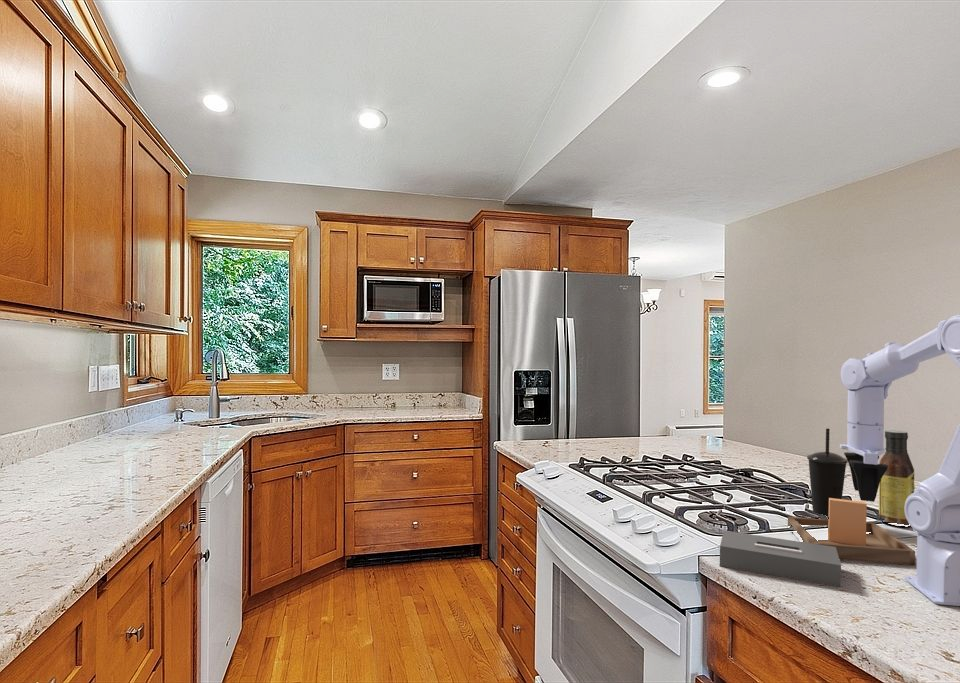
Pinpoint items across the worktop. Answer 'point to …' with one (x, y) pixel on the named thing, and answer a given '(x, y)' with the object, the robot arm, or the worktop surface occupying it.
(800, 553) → the dispenser
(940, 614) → the worktop surface
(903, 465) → the sauce bottle
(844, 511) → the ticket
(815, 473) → the drinking cup
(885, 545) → the tray
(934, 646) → the worktop surface
